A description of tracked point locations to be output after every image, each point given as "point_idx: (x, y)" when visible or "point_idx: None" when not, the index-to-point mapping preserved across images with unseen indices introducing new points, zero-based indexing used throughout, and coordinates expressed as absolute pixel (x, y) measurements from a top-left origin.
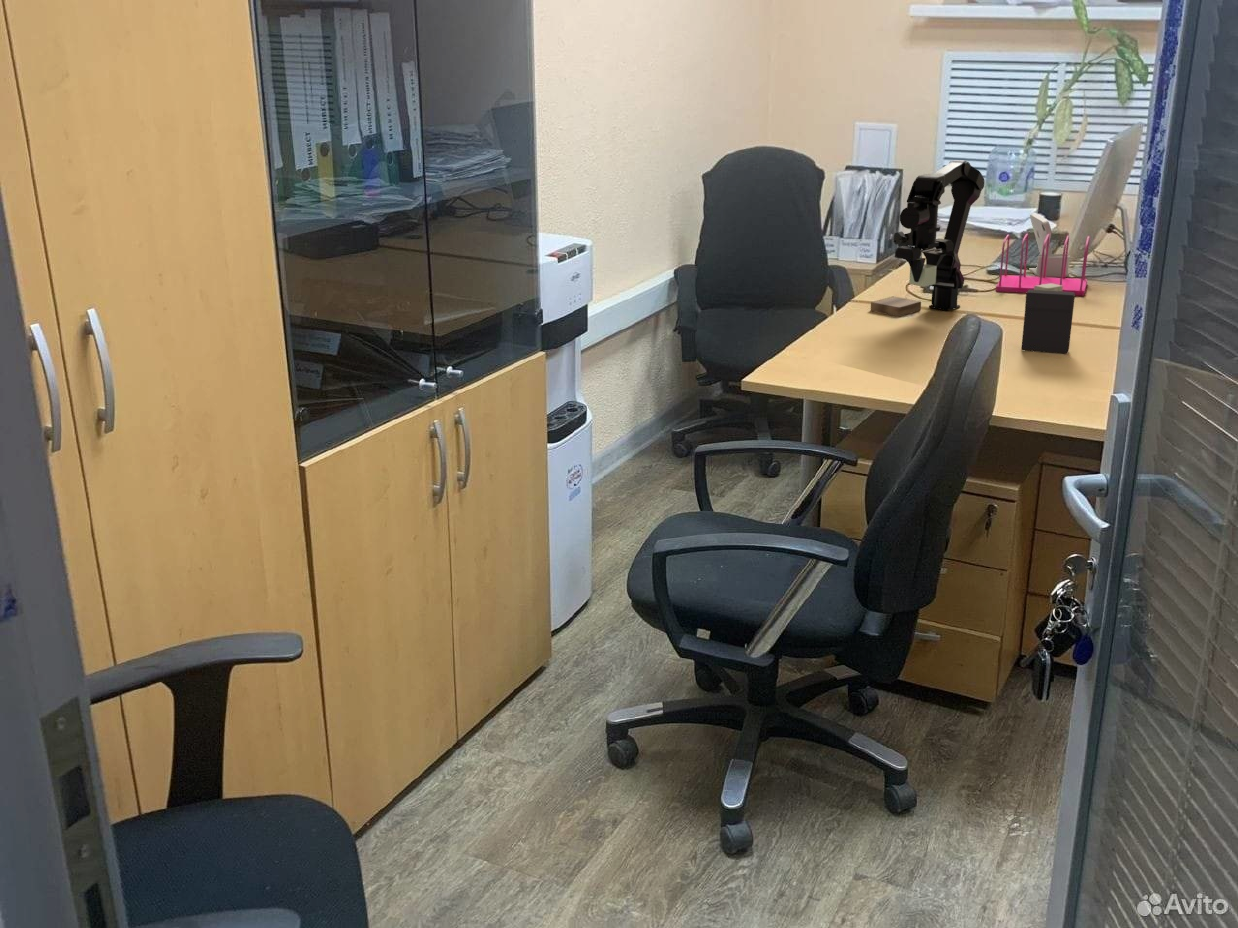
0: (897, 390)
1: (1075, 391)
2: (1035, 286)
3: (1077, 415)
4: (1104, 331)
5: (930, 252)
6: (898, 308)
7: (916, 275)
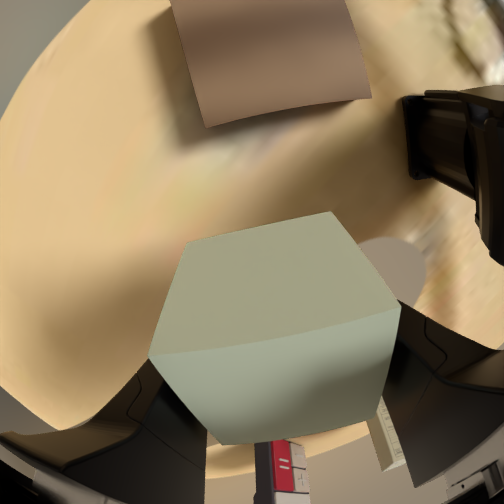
0: (55, 421)
1: None
2: (391, 463)
3: None
4: None
5: (476, 456)
6: (205, 124)
7: None
